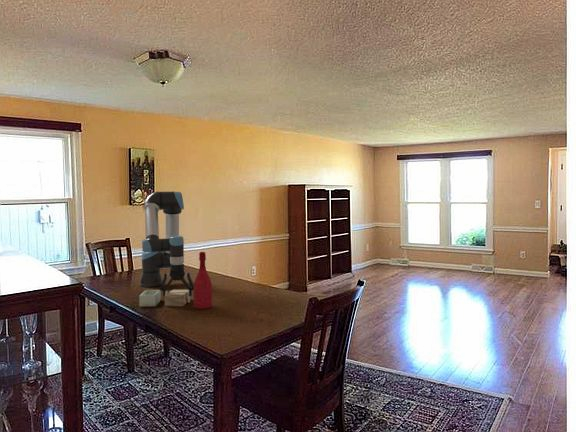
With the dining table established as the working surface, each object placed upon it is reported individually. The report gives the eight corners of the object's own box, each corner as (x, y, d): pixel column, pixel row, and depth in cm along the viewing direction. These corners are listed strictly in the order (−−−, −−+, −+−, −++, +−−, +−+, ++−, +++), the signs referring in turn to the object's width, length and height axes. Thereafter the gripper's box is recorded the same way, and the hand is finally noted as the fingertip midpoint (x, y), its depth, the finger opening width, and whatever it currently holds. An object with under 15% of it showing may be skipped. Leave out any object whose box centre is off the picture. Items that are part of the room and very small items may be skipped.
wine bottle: (216, 306, 232) (215, 251, 230) (203, 310, 223) (203, 253, 221) (202, 303, 237) (201, 250, 235) (189, 308, 228) (189, 252, 226)
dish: (145, 300, 245) (145, 290, 245) (160, 300, 245) (160, 289, 245) (139, 306, 232) (139, 295, 232) (155, 306, 232) (155, 295, 232)
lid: (173, 299, 247) (172, 289, 247) (190, 299, 247) (190, 289, 247) (164, 306, 232) (164, 295, 232) (182, 306, 232) (182, 295, 232)
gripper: (153, 265, 234) (154, 304, 235) (197, 264, 236) (198, 303, 237) (156, 263, 241) (157, 301, 242) (199, 262, 243) (200, 300, 244)
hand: (177, 302), depth 239 cm, fingers open, 12 cm apart
